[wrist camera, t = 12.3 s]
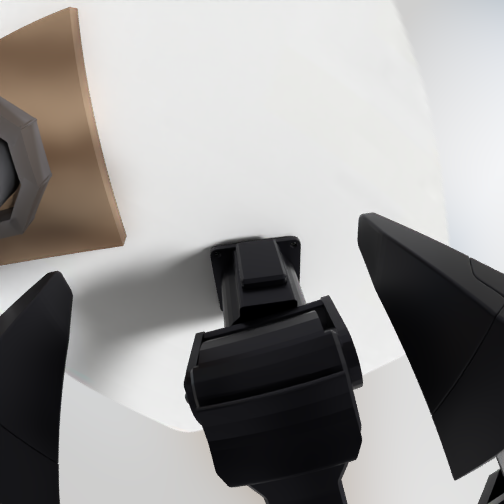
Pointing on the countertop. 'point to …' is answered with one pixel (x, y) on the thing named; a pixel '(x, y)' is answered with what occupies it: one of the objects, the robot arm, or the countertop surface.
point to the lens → (7, 173)
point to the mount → (52, 147)
